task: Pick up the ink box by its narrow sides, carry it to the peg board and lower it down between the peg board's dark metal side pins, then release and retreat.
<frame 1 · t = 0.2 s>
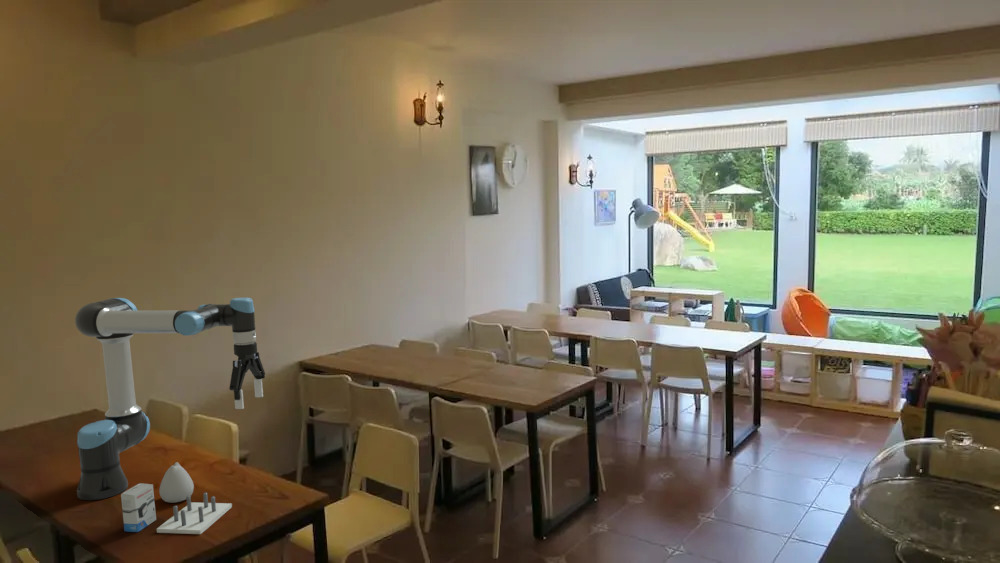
hand: (249, 402, 241), 28 cm above the table, fingers open, 13 cm apart
ink box: (140, 526, 211), on the table
peg board: (195, 519, 214), on the table
toy character: (177, 499, 230), on the table
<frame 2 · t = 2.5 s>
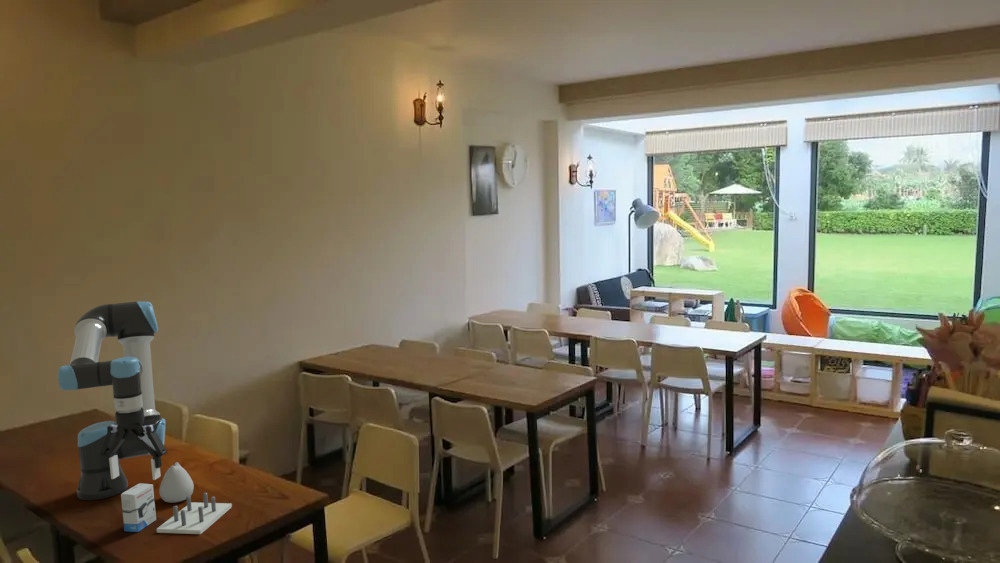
hand: (136, 477, 209), 15 cm above the table, fingers open, 13 cm apart
nothing on the table moved.
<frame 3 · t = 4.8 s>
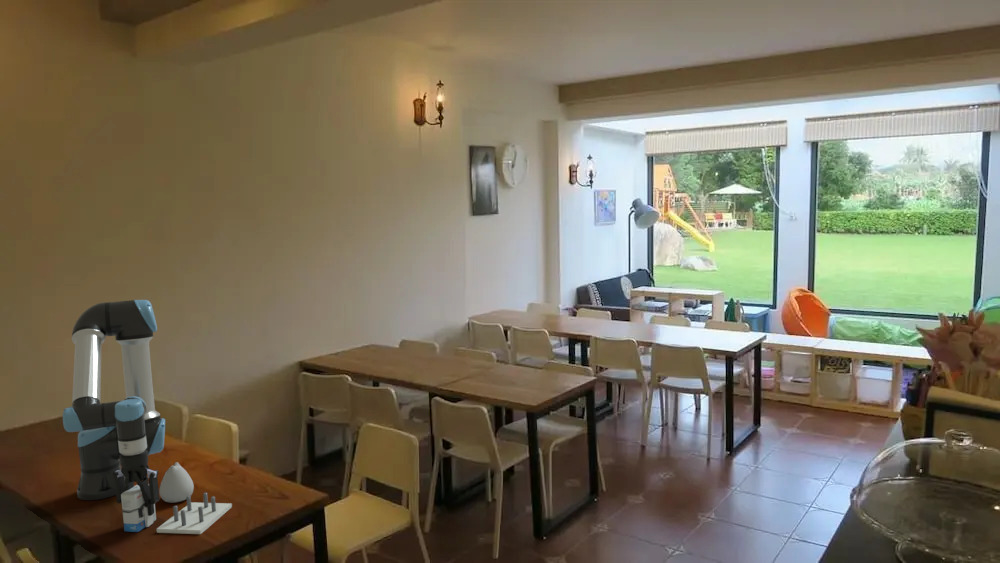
hand: (140, 524, 211), 0 cm above the table, fingers closed on ink box, 5 cm apart
ink box: (140, 526, 211), on the table, touching gripper
everything else where it was.
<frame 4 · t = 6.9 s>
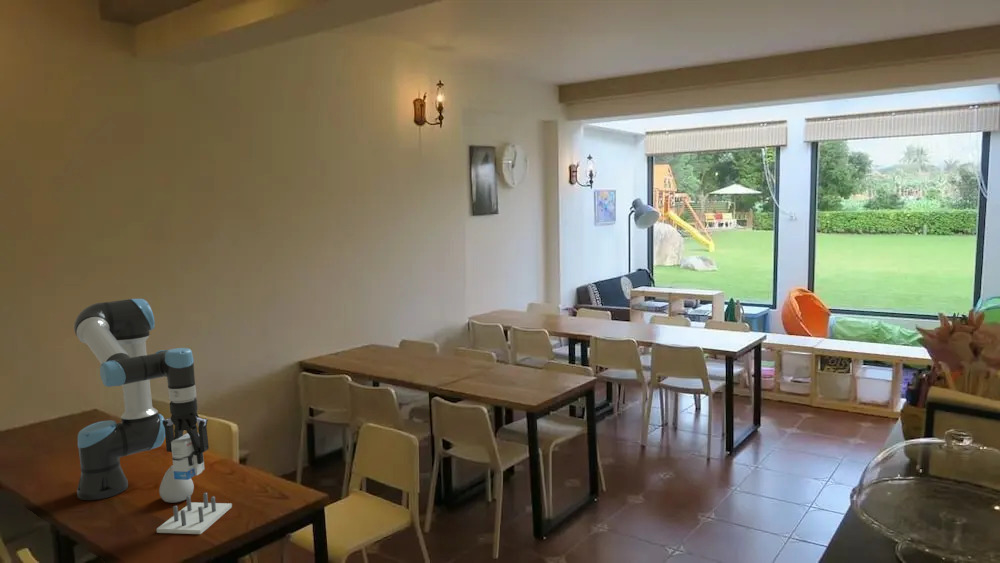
hand: (189, 473, 212), 15 cm above the table, fingers closed on ink box, 5 cm apart
ink box: (189, 475, 212), point 15 cm above the table, touching gripper
everything else where it was.
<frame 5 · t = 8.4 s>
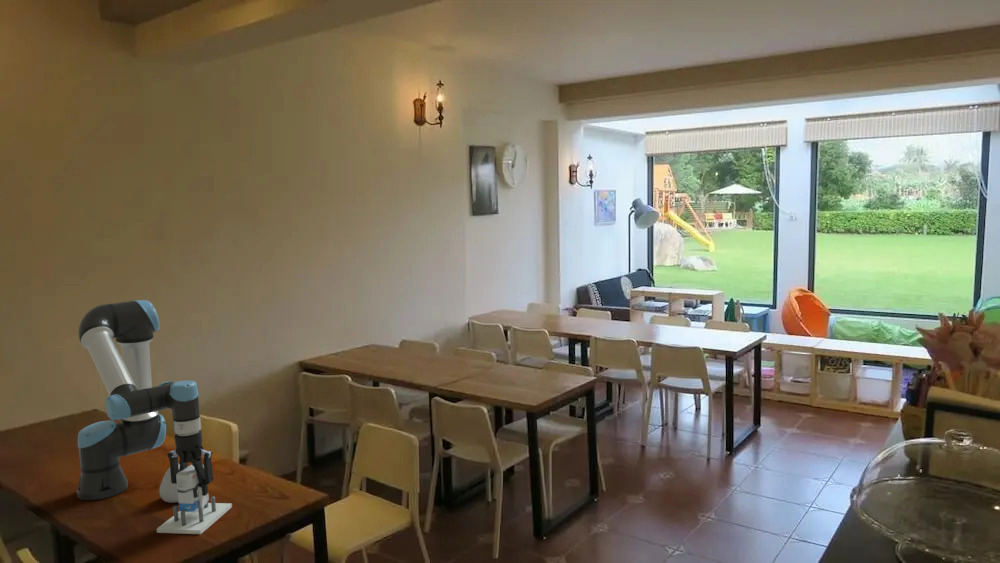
hand: (194, 504, 214), 5 cm above the table, fingers closed on ink box, 5 cm apart
ink box: (194, 506, 214), point 4 cm above the table, touching gripper
everything else where it was.
when the fingers open (3 cm above the table, at t = 9.3 s): ink box drops 2 cm, resting on peg board.
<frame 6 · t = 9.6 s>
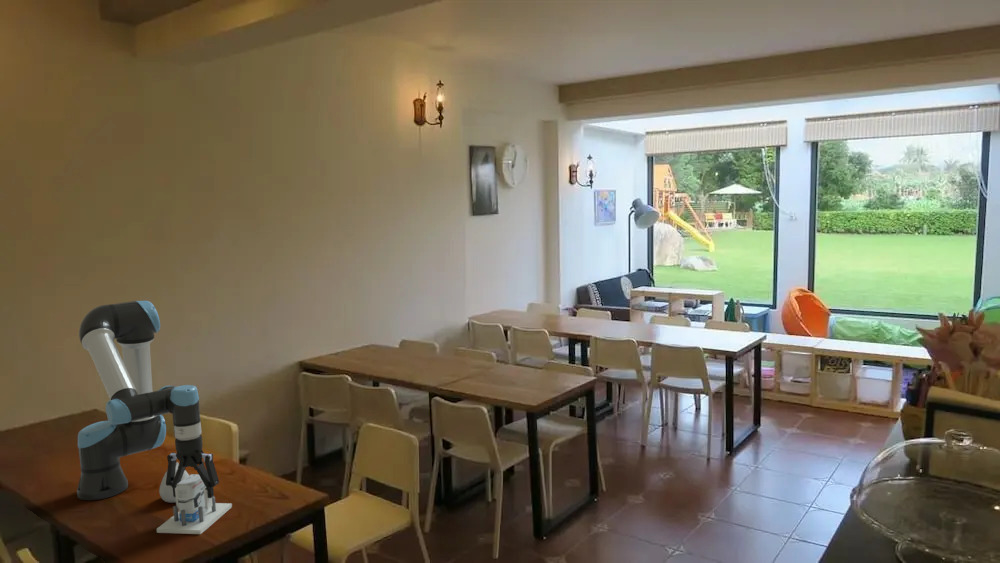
hand: (194, 507, 214), 4 cm above the table, fingers open, 9 cm apart
ink box: (194, 516, 214), point 1 cm above the table, touching peg board
everything else where it was.
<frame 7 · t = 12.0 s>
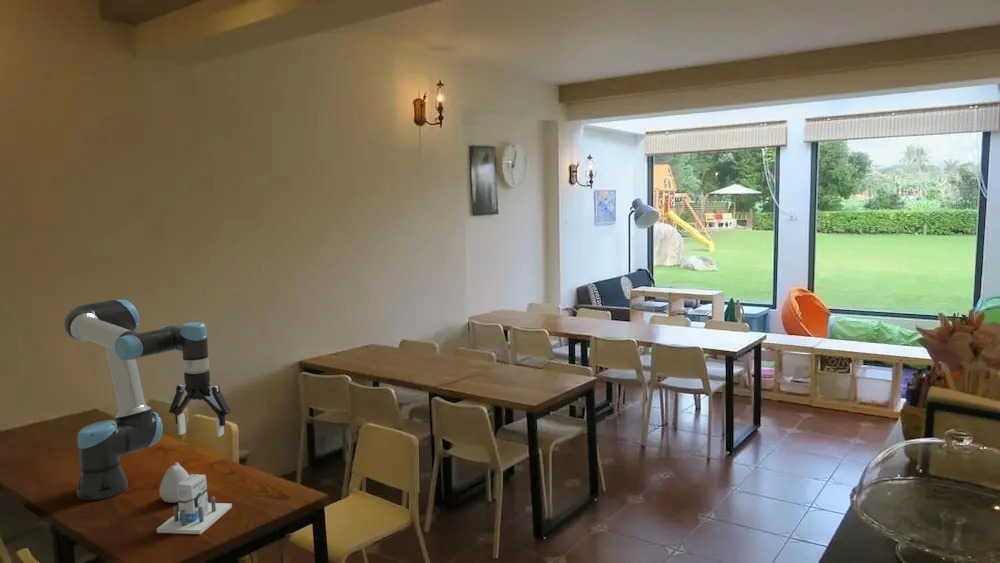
hand: (201, 434, 225), 22 cm above the table, fingers open, 13 cm apart
nothing on the table moved.
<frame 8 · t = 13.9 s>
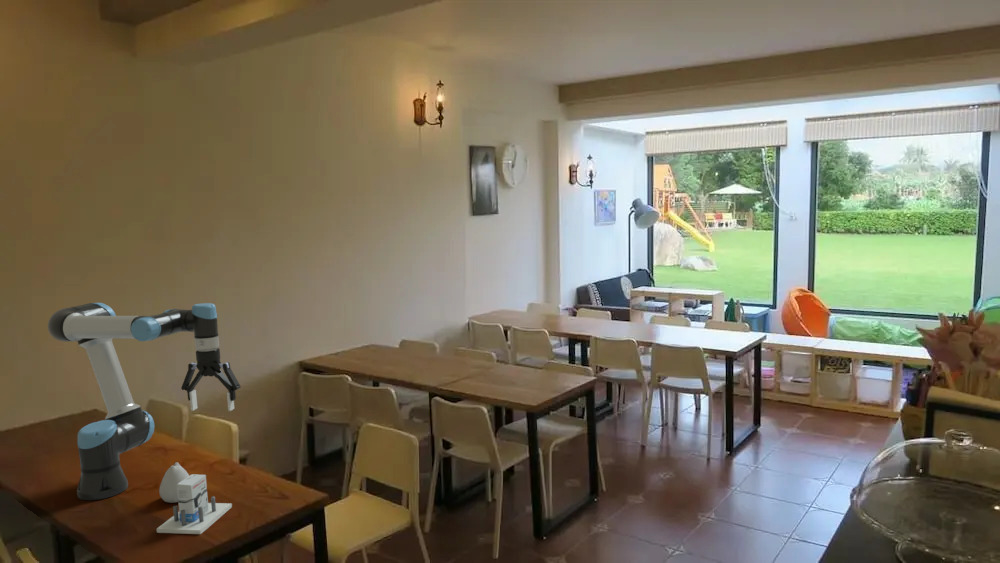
hand: (212, 409, 238), 27 cm above the table, fingers open, 13 cm apart
nothing on the table moved.
at the end: ink box 0.2 cm off-centre on the peg board, point 1.0 cm above the peg board's base; ink box tilted 0°; the gripper is holding nothing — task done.
